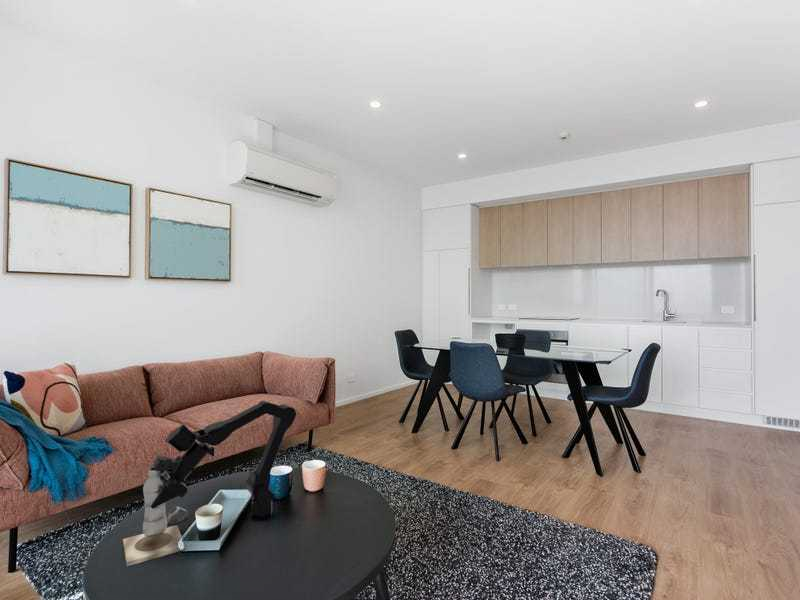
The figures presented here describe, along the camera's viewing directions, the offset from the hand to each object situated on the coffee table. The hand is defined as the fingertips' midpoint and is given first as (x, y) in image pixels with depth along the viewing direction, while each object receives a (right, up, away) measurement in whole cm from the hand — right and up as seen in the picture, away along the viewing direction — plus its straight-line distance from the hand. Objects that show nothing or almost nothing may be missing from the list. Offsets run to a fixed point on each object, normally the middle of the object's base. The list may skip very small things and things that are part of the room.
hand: (150, 503), depth 129 cm
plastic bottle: (+1, -10, +1) cm, 10 cm away
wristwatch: (0, -14, +16) cm, 21 cm away
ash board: (+1, -13, +1) cm, 13 cm away
